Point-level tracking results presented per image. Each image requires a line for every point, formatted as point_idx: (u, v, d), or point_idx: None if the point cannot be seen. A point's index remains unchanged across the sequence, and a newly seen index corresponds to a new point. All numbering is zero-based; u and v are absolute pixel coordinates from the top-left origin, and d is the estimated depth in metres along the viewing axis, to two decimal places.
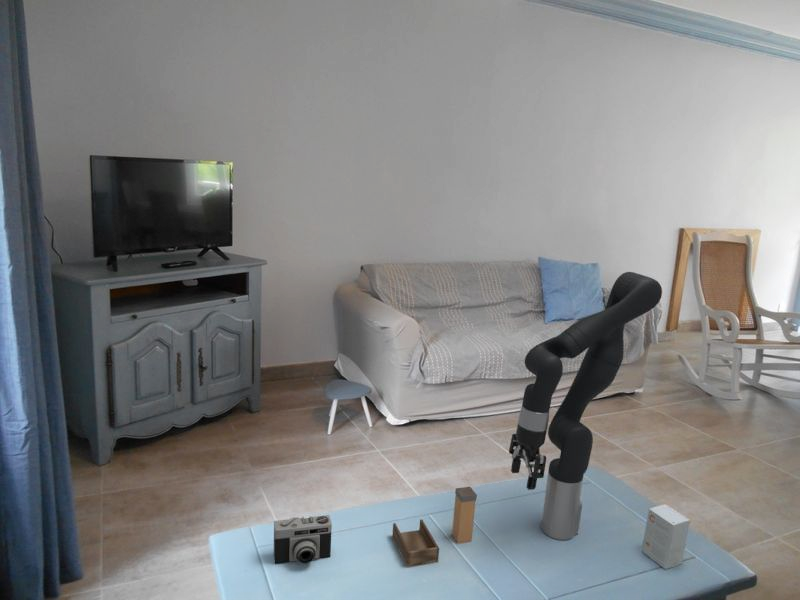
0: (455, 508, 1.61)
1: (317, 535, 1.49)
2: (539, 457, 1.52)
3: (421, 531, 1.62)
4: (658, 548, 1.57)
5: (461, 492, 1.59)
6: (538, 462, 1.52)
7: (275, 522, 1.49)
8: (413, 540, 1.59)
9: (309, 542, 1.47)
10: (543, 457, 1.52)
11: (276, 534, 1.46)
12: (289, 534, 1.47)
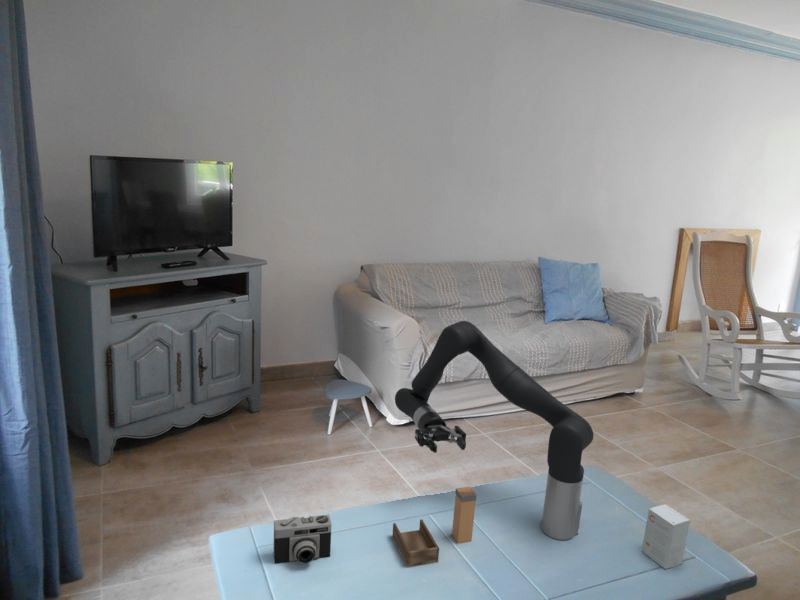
0: (455, 508, 1.61)
1: (317, 535, 1.49)
2: None
3: (421, 531, 1.62)
4: (658, 548, 1.57)
5: (461, 492, 1.59)
6: (415, 438, 1.75)
7: (275, 522, 1.49)
8: (413, 540, 1.59)
9: (309, 542, 1.47)
10: None
11: (276, 534, 1.47)
12: (289, 533, 1.47)
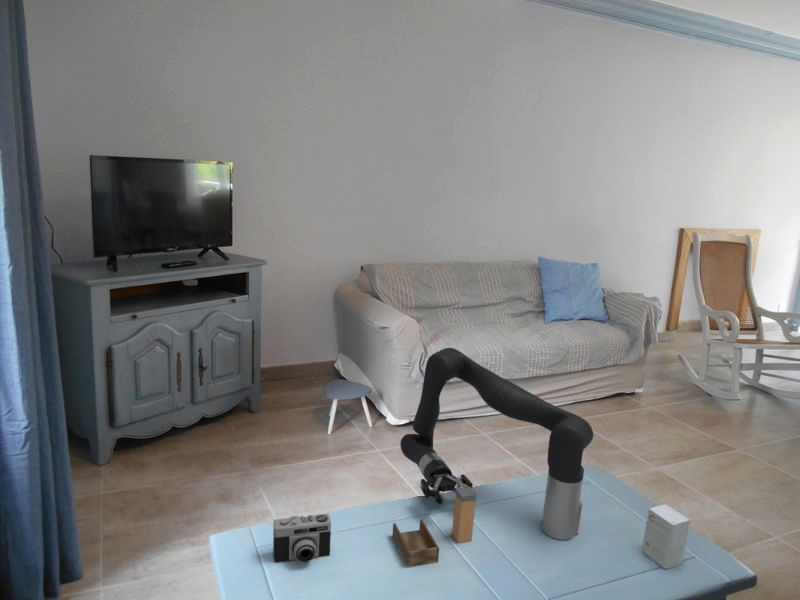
0: (455, 508, 1.61)
1: (316, 533, 1.50)
2: None
3: (421, 531, 1.62)
4: (658, 548, 1.57)
5: (461, 492, 1.59)
6: (421, 488, 1.73)
7: (275, 521, 1.50)
8: (413, 540, 1.59)
9: (308, 541, 1.48)
10: None
11: (276, 533, 1.47)
12: (288, 532, 1.48)
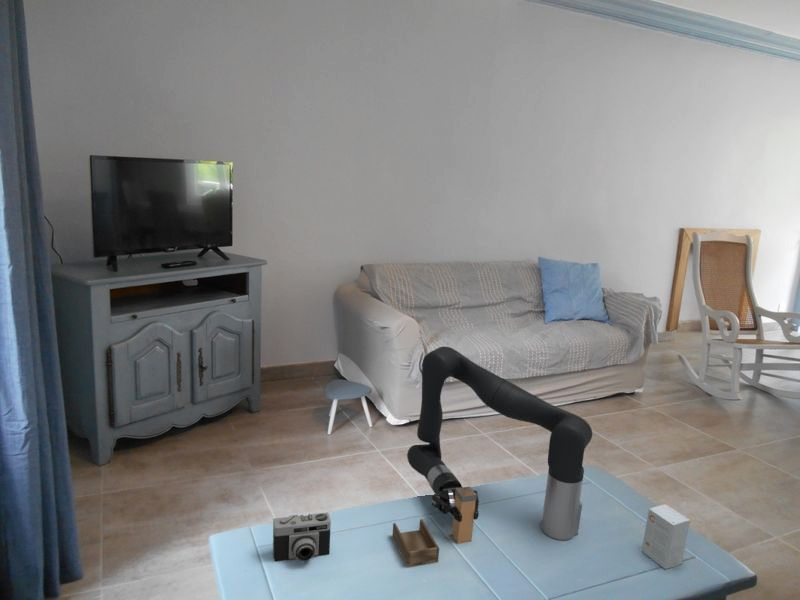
0: None
1: (316, 532, 1.50)
2: None
3: (421, 531, 1.62)
4: (658, 548, 1.57)
5: (461, 492, 1.59)
6: (434, 505, 1.64)
7: (274, 520, 1.50)
8: (413, 540, 1.59)
9: (308, 539, 1.48)
10: (432, 498, 1.65)
11: (275, 531, 1.47)
12: (288, 531, 1.48)
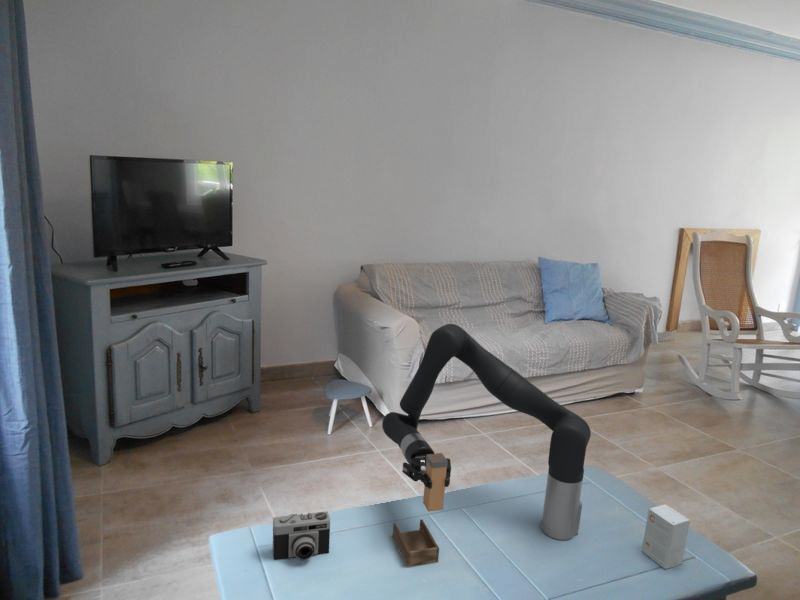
0: None
1: (316, 531, 1.50)
2: None
3: (421, 531, 1.62)
4: (658, 548, 1.57)
5: (432, 458, 1.53)
6: (404, 472, 1.59)
7: (274, 518, 1.50)
8: (413, 540, 1.59)
9: (308, 538, 1.49)
10: None
11: (275, 530, 1.48)
12: (288, 530, 1.49)
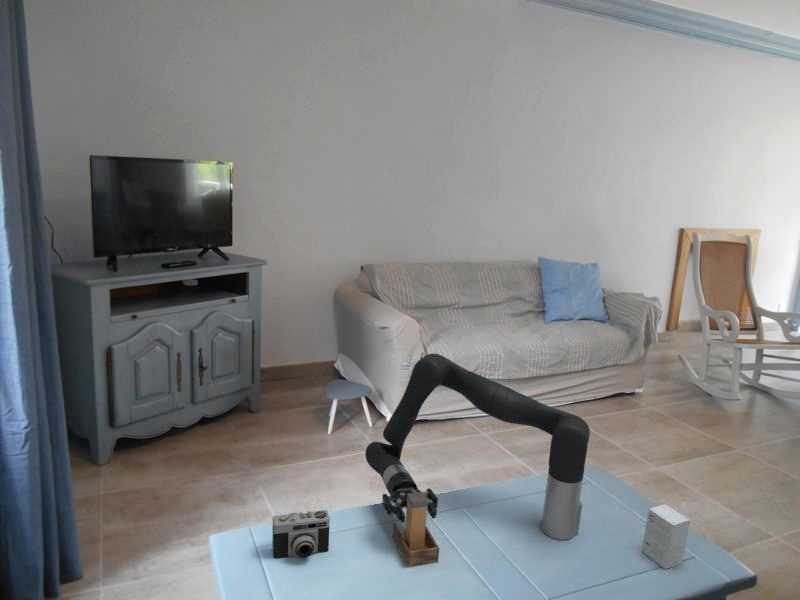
0: (407, 514, 1.56)
1: (315, 530, 1.51)
2: None
3: None
4: (658, 548, 1.57)
5: (412, 498, 1.53)
6: (383, 504, 1.60)
7: (274, 517, 1.51)
8: None
9: (307, 537, 1.49)
10: None
11: (275, 529, 1.48)
12: (288, 529, 1.49)
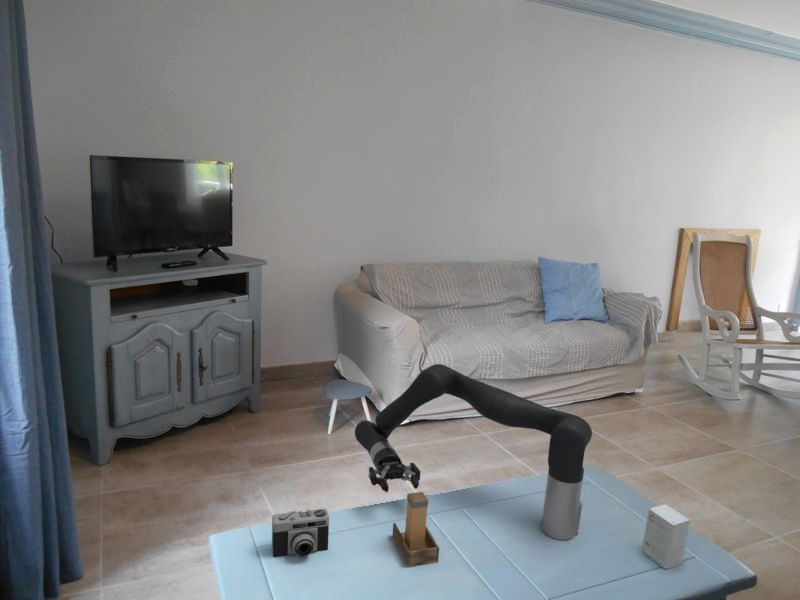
0: (407, 514, 1.56)
1: (315, 528, 1.52)
2: None
3: None
4: (658, 548, 1.57)
5: (412, 498, 1.53)
6: (369, 476, 1.72)
7: (273, 516, 1.51)
8: None
9: (307, 535, 1.50)
10: None
11: (275, 527, 1.49)
12: (287, 527, 1.50)
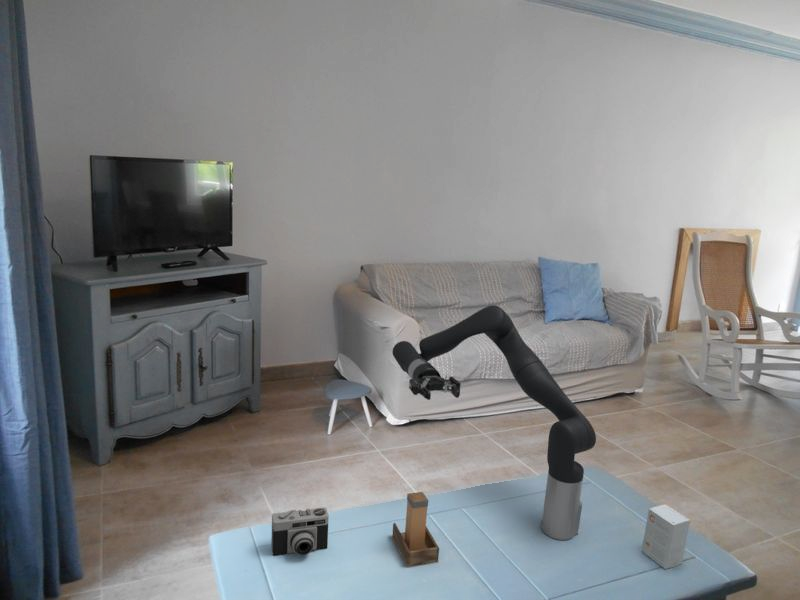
0: (407, 514, 1.56)
1: (314, 527, 1.52)
2: None
3: None
4: (658, 548, 1.57)
5: (412, 498, 1.53)
6: (409, 388, 1.74)
7: (273, 515, 1.52)
8: None
9: (306, 534, 1.50)
10: None
11: (274, 526, 1.49)
12: (287, 526, 1.50)
